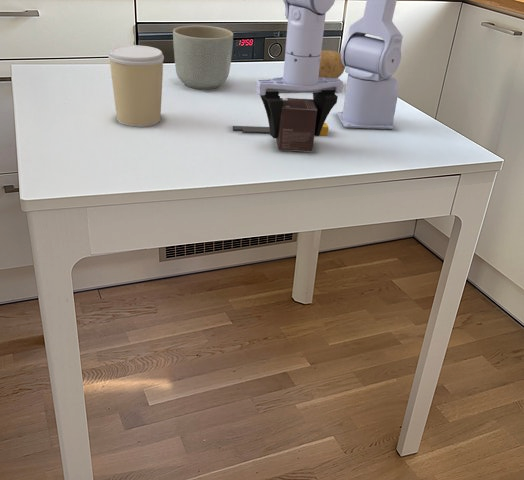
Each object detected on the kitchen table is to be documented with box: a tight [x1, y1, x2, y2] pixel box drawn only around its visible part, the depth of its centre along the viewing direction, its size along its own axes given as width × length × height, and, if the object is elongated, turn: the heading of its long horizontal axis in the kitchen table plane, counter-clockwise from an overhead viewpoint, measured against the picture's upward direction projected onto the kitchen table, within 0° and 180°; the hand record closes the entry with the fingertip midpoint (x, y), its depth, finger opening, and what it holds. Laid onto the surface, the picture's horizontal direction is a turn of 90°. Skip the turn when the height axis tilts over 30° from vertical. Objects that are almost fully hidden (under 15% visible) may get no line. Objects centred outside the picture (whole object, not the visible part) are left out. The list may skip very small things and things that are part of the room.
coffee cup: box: [108, 44, 165, 128], centre depth 113 cm, size 9×9×12 cm
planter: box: [172, 24, 234, 90], centre depth 135 cm, size 12×12×11 cm
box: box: [275, 97, 317, 153], centre depth 108 cm, size 6×6×7 cm
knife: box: [232, 122, 330, 137], centre depth 116 cm, size 17×3×2 cm, turn 96°
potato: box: [319, 49, 346, 78], centre depth 140 cm, size 10×14×8 cm
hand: (295, 135), depth 109 cm, fingers closed on box, 7 cm apart
